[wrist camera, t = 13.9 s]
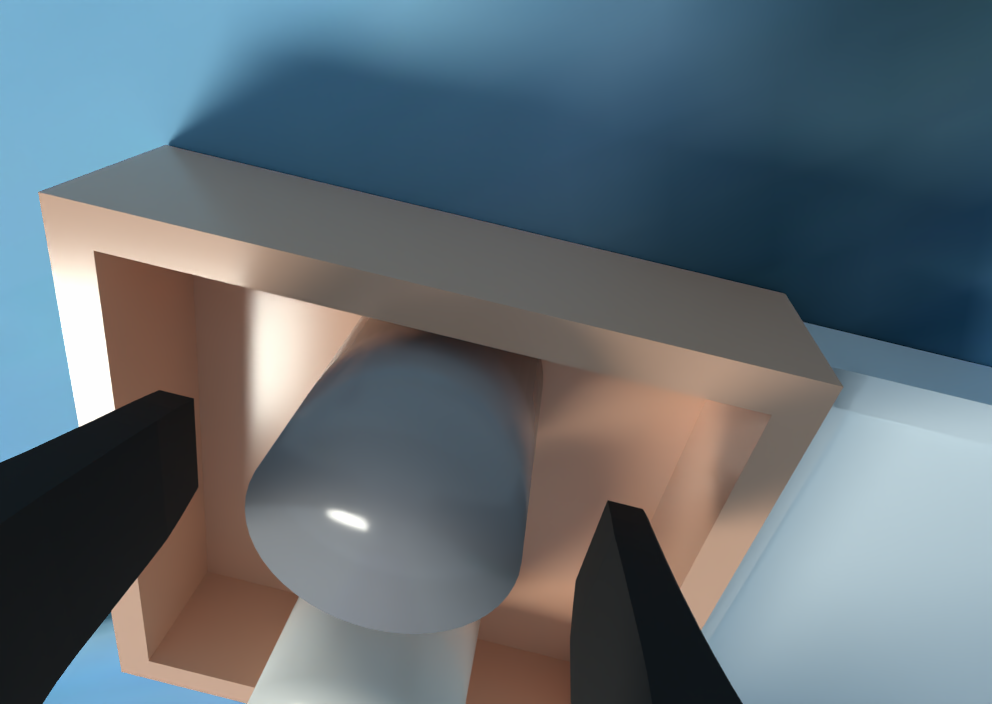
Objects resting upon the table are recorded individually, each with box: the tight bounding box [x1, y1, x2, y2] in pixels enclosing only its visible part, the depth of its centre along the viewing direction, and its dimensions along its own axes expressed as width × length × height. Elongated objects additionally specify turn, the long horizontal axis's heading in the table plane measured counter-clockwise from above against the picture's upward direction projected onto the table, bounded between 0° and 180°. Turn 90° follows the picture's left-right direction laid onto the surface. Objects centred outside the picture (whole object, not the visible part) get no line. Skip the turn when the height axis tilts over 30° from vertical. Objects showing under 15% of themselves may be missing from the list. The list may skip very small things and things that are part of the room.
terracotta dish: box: [38, 145, 843, 704], centre depth 15 cm, size 13×13×4 cm
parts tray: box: [701, 322, 992, 704], centre depth 16 cm, size 16×14×2 cm
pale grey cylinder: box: [247, 597, 481, 704], centre depth 15 cm, size 4×4×5 cm
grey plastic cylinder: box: [245, 316, 543, 634], centre depth 12 cm, size 4×4×5 cm
